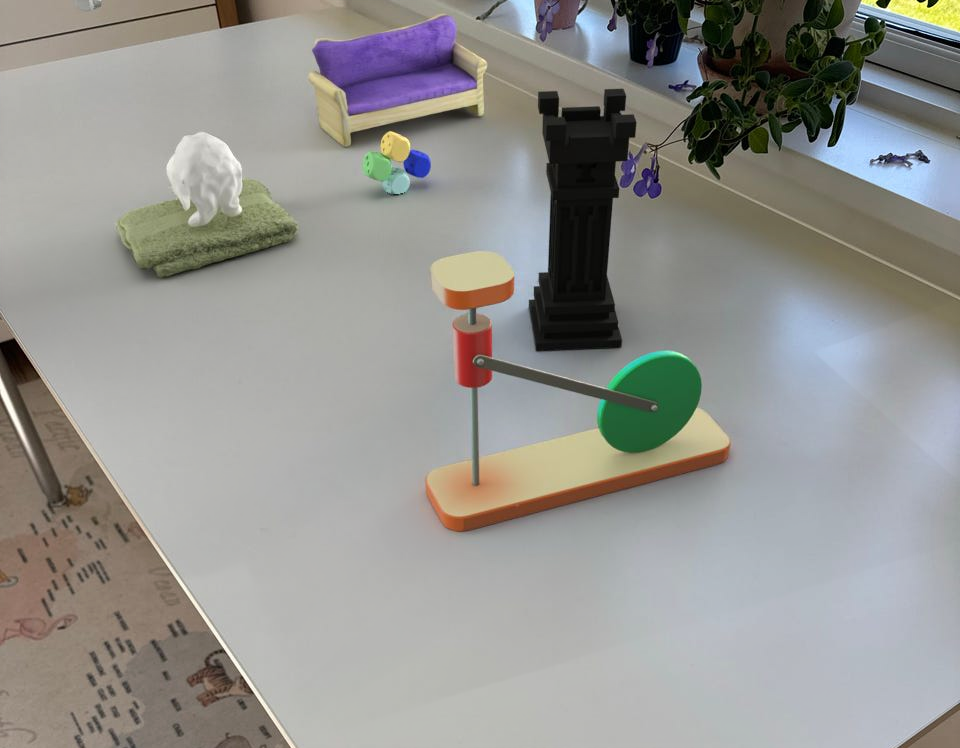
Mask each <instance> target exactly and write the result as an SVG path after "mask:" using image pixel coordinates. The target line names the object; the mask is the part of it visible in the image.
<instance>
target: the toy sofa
mask: <svg viewBox="0 0 960 748" xmlns="http://www.w3.org/2000/svg"><path fill="white" fill-rule="evenodd" d="M456 37H457V22H456V21H455V19H454V18H453V17H452V16H451V15H449V14H447V13H445V12H444V13H439V14H437V15H435V16H433V17H431V18H429V19H426V20H425V21H422V22H418V23H414V24H409V25H407V26H402V27H398V28H393V29H390V30H385V31H381V32H376V33H371V34H368V35H367V34H366V35H363V36H358V37H354V38H350V39H349V38H348V39H333V38H328V37H318V38H317V39H315V41H314V44H313V45H314V46H313V48H312V49H311V52H312V54H313V56H314V58H315V62H316V64H317V66H318V70H319V72H318V71H317V70H311V71H310V72H309V74H308V82H309V83H310V84H311V85H312V86H313V87H314V91H315V98H316V105H317V112H318V121H319V127H320V128H321V129H322V130H323V131H324V132H326V133H327V134H328V135H329V136H330V137H332V139H334V140H335V141H336V142H337V143H339V144H340V145H341V146H342V147H344V148H347V147H350V146H351V145H352V139H351V134H352V133H354V132H359V131H363V130H368V129H372V128H377V127H380V126H386V125H390V124H394V123H399V122H404V121H407V120H413V119H416V118H421V117H425V116H429V115H430V116H431V115H434V114H438V113H439V114H440V113H443V112H448V111H451V110H457V109H462V108H466V109H468V110H469V111H470V112H472V114H474V115H476V116H477V117H478V116H479V117H481V116H483V115H484V113H485V112H484V111H485V109H484V107H485V105H484V73H485V72H486V71H487V68H488V63H487V61H486V60H485V59H483V58H482V57H480V56H479V55H477V54H475V53H474V52H472V51H470V50H469V49H467V48H466V47H464V46H462V45H461V44H460V43H458V42H456Z"/></svg>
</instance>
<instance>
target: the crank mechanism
mask: <svg viewBox="0 0 960 748" xmlns="http://www.w3.org/2000/svg"><path fill="white" fill-rule="evenodd" d="M430 265H431V266H430V284H431V285H430V286H431V289H432V291H433V293H434V294H435V295H436V297H437V298H438V300H439V301H440V303H442V304H443V305H444V306H445V307H447V308H450V309H452V310H457V311H467V313H463V314H461V315H459V316H457V317H456V318H455V319H454V320H453V321H452V325H451V326H452V327H451V328H452V352H453V353H452V354H453V378H454V381H455V382H456V383H457V384H458V385H460V386H462V387H464V388H469V401H470V406H469V407H470V439H471V440H470V441H471V459H468V460H464V461H460V462H455V463H452V464H447V465H444V466H439V467H437V468H434V469H432V470H431V471H430V472H428V473H427V475H426V476H425V492H426V496H427V498H428V500H429V502H430V504H431V507H432V508H433V509H434V511H435V513H436V515H437V517H438V518H439V520H440V522H441V524H442V525H443V526H444V527H445V528H447V529H448V530H451V531H454V532H467V531H470V530H475V529H480V528H482V527H486V526H490V525H493V524H498V523H501V522H505V521H509V520H512V519H517V518H520V517H524V516H527V515H528V516H529V515H531V514H535V513H538V512H543V511H546V510H551V509H555V508H557V507H562V506H565V505H569V504H573V503H576V502H577V503H578V502H582V501H584V500H588V499H592V498H596V497H599V496H603V495H606V494H611V493H615V492H618V491H622V490H625V489H626V490H627V489H629V488H633V487H637V486H642V485H644V484H649V483H652V482H657V481H660V480H664V479H666V478H671V477H674V476H675V477H676V476H678V475H682V474H686V473H690V472H694V471H697V470H701V469H704V468H709V467H713V466H717V465H719V464H722V463H724V462H725V461H727V459H728V457H729V454H730V449H731V439H730V437H729V436H728V435H727V433H725V431H724V430H723V428H722V427H720V426H719V425H718V423H716V422H715V420H714V419H713V418H712V417H711V416H710V415H709V414H708V413H707V412H706V411H705V410H703V408H702V409H701V408H699V407H698V404H699V403H700V399H701V396H702V387H703V385H702V377H701V374H700V371H699V369H698V367H697V365H695V363H693V361H692V360H691V359H689V357H688V356H686V355H684V354H682V353H680V352H678V351H674V350H657V351H653V352H649V353H646V354H644V355H642V356H639V357H637V358H636V359H634V360H632V361H631V362H629V363H628V364H626V365H625V366H624V367H623V368H622V369H620V371H618V372H617V373H616V374H615V375H614V376H613V378H612V379H611V380H610V382H608V384H607V386H606V387H603V386H599V385H595V384H591V383H587V382H584V381H580V380H576V379H573V378H569V377H565V376H562V375H558V374H554V373H551V372H547V371H544V370H540V369H536V368H532V367H529V366H525V365H521V364H517V363H515V362H514V363H513V362H511V361H506V360H503V359H498V358H495V357H493V322H492V320H491V319H490V318H489V317H488V316H487V315H485V314H482V313H477V309H479V308H483V307H484V308H485V307H487V306H492V305H493V306H494V305H498V304H501V303H503V302H506V301H508V300H510V299H511V298H512V297H513V295H514V293H515V271H514V269H513V267H512V266H511V265H510V263H508V261H507V260H506V259H505V258H504V257H503V256H502V255H500V254H499V253H497V252H494V251H487V250H478V251H477V250H475V251H471V252H466V253H460V254H456V255H450V256H445V257H442V258H439V259H437V260H435V261H434V262H433V263H432V264H430ZM493 372H495V373H499V374H502V375H508V376H512V377H515V378H519V379H522V380H527V381H530V382H534V383H537V384H541V385H546V386H549V387H554V388H556V389H561V390H564V391H568V392H571V393H572V392H573V393H576V394H580V395H583V396H588V397H591V398H596V399H599V403H598V406H597V413H596V423H597V427H596V428H593V429H588V430H585V431H580V432H576V433H572V434H568V435H564V436H561V437H556V438H552V439H547V440H544V441H540V442H536V443H532V444H529V445H528V444H527V445H524V446H520V447H516V448H511V449H508V450H503V451H499V452H496V453H492V454H488V455H484V456H480V438H479V435H480V434H479V432H480V431H479V389H478V388H482V387H485V386H486V385H488V384H490V383H491V382H492V380H493Z"/></svg>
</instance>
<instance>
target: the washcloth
mask: <svg viewBox="0 0 960 748" xmlns="http://www.w3.org/2000/svg"><path fill="white" fill-rule="evenodd" d="M238 198H239V205H240V206H241V208H242V212H241V213H240V214H239V215H237V216H234V217H229V216H227V215H225V214H224V213H223V212H222V211H221V207H219V208H218V209H217V213H216V215H215V216H214V217H213V218H212V220H211V221H210V222H209V223H208V224H206V225H203V226H199V227H192V226H190V225H189V223H188V221H189V218H190V217H191V216H192V215H193V214H194V213H195V212H197V211H198V210H197V207H196V205H195V204H194V203H193V202H192V201H191V199H190V207H189V209H188V210H187V211H185V210H184V208H183V205H182V203H181V202H180V200H179V198H178V199H177V197H176V198H174V199H170V200H165V201H161V202H157V203H151V204H147V205H143V206H139V207H136V208H133V209H130V210H129V211H127V212H126V213H124V214H123V215H122V216H120V217H119V218H118V219H117V220H116V221H115V222H114V224H115V227H116V228H117V230H118V233H119V237H120V240H121V243H122V244H123V245H124V246H125V247H126V248H127V249H128V250H129V251H130V252H131V254H132V256H133V258H134V260H135V262H136V265H137V266H138V269H145V268H146V269H147V270H150V269H154V271H155V273H156V275H157V277H158V278H163V277H170V276H173V275H175V274H180V273H182V272H186V271H189V270H197V269H200V268H202V267H204V266H206V265H210V264H212V263H214V264H215V263H217V262H219V263H220V262H222V261H225V260H229V259H233V258H234V257H236V258H237V257H238V256H244V255H246V254H248V253H254V252H256V251H257V252H258V251H259V250H262V249H268V248H270V247H275V246H278V245H280V244H282V243H287V242H290V241H291V240H292V238H294V237H296V235H298V231H299V228H298V227H299V226H298V225H299V224H298V222H297V221H296V219H295V218H294V217H292V216H291V215H290V214H289V213H288V212H287V211H286V210H285V209H284V208H283V207H282V206H281V205H280V204H278V203H276V202H274V199H273V197H272V196H271V192H270V191H269V188H268V187H267V186H266V185H265V184H264V183H263V182H261V181H259V179H258V180H257V179H255V178H252V177H247V178H242V191H241V193H240V195H239V196H238ZM176 199H177V200H176Z"/></svg>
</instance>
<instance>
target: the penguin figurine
mask: <svg viewBox="0 0 960 748" xmlns="http://www.w3.org/2000/svg"><path fill="white" fill-rule="evenodd" d="M166 175H167V179H168V180H169V183H170V184H171V185H169V186H166V188H167V189H168V190H169V191H172V192H171V194H175V196H176V198H177V199H178V198H179V200H180V202H181V203H182V205H183V208H184V210H185V211H187V210H188V209H189V207H190V199H191V201H192V202H193V203H194V204H195V205H196V207H197V210H198V211H197V212H195V213H194V214H193V215H192V216H191V217H190V218H189V221H188V223H189V225H190V226H192V227H199V226H203V225H206V224H208V223H209V222H210V221H211V220H212V218H213V217H214V216H215V215H216V213H217V209H218V208H219V207H221V211H222V212H223V213H224V214H225V215H227V216H229V217H234V216H237V215H239V214H240V213H241V212H242V208H241V206H240V205H239V198H238V196H239V195H240V193H241V191H242V179H243V169H242V164H241V163H240V161H239V160H238V159H237V158H236V157H235V156H234V153H233V152H232V151H231V149H230V147H229V146H228V144H226V143H225V141H223V140H222V139H219V138H218V137H216V136H213V135H211V134H209V133H207V132H205V131H198V132H197V133H195V134H188V135H184V136H183V137H182V138H181V141H179V143H178V144H177V145H176V147H175V151H174V153H173V155H171V157H170V158H169V160H168V162H167V164H166ZM176 198H175V199H176ZM177 199H176V200H177Z"/></svg>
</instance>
